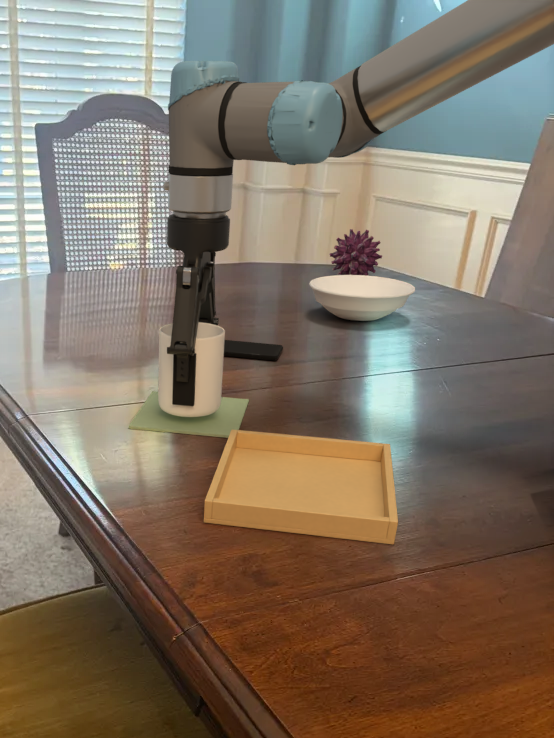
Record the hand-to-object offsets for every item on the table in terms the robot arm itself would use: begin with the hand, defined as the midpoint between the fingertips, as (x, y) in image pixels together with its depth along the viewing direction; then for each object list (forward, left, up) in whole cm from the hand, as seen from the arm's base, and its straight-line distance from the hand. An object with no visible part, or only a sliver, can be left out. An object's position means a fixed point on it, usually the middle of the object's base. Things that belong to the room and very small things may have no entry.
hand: (192, 388), depth 102 cm
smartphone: (-2, -31, -4) cm, 31 cm away
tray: (-16, +20, -4) cm, 26 cm away
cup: (0, 0, -2) cm, 2 cm away
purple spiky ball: (-21, -97, -4) cm, 99 cm away
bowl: (-22, -60, -4) cm, 64 cm away
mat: (0, 0, -4) cm, 4 cm away
